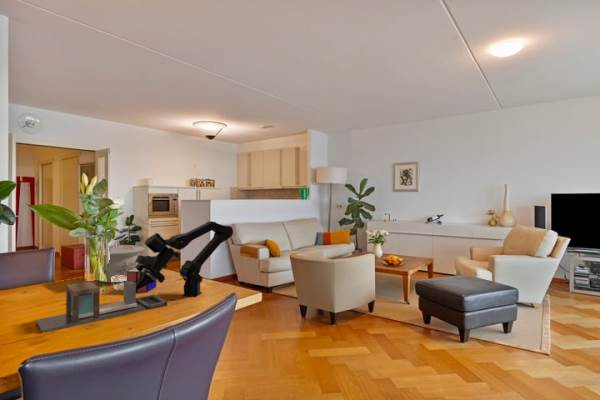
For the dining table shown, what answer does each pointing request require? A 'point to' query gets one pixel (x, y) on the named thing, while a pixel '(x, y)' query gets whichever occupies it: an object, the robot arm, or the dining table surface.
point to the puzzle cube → (134, 276)
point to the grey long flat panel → (67, 320)
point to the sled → (88, 304)
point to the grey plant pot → (122, 259)
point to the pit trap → (151, 302)
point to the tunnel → (76, 291)
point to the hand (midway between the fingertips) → (134, 289)
